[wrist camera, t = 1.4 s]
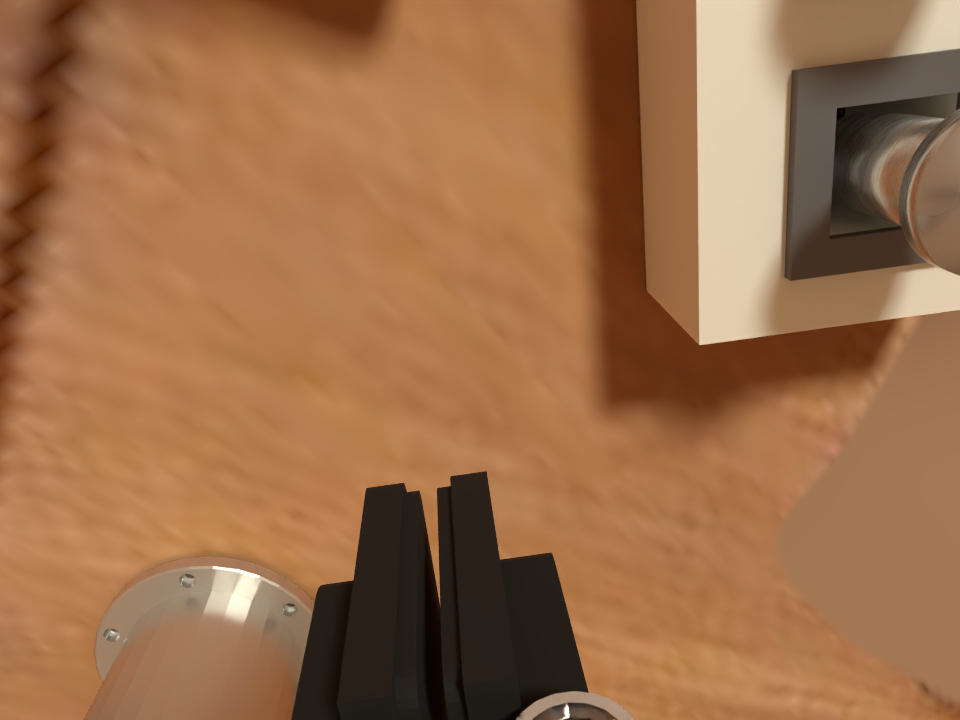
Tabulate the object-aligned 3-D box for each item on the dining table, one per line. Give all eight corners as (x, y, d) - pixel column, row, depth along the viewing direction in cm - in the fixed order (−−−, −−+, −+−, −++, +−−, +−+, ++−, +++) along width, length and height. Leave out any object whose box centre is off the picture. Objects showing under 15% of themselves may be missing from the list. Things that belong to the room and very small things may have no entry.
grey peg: (917, 216, 30) (1079, 267, 23) (790, 233, 30) (910, 290, 23) (931, 79, 28) (1113, 85, 21) (795, 97, 28) (928, 110, 21)
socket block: (930, 252, 37) (1059, 301, 29) (646, 290, 36) (703, 349, 29) (992, -316, 28) (1194, -449, 21) (626, -272, 28) (699, -392, 21)
